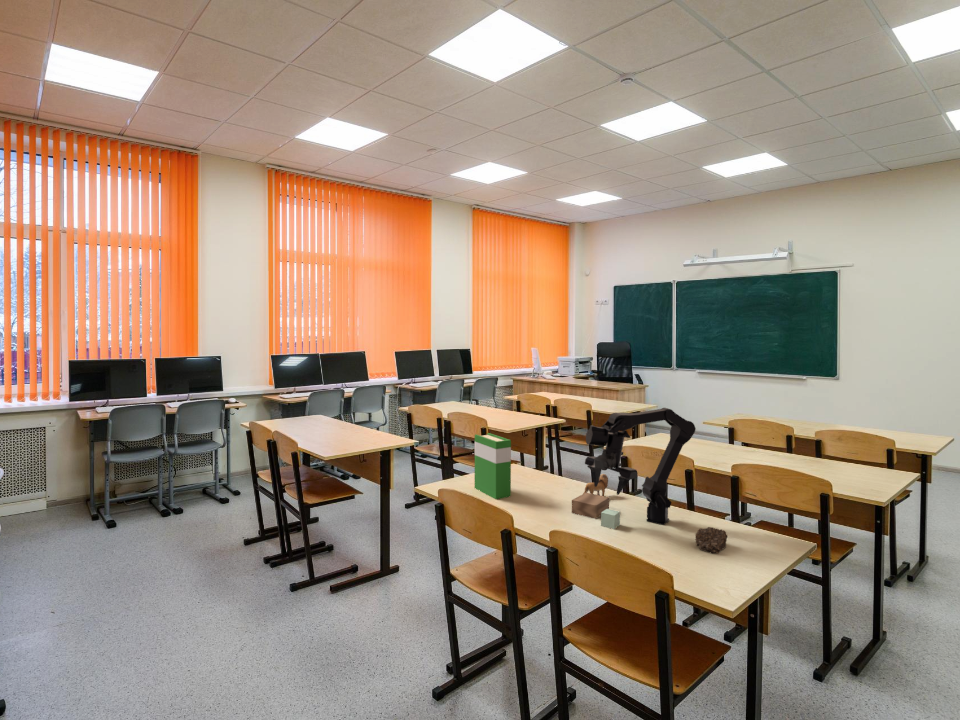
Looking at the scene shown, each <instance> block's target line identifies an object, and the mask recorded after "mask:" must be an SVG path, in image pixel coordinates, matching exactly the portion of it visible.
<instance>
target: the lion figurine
mask: <svg viewBox="0 0 960 720" xmlns="http://www.w3.org/2000/svg"><path fill="white" fill-rule="evenodd" d="M608 485H609V477H608V475H607V474H605V473H601V474H600V478H599V482H598V485H597V487H595V486H594V482H588V483H586V484H585V488H584V492H583V493H582V494H584V493H591V494H594V492H596V495H600V496H605V494H606V493H605V492H606V489H607V488H608ZM600 491H601V494H600Z"/></svg>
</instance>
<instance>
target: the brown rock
mask: <svg viewBox="0 0 960 720" xmlns="http://www.w3.org/2000/svg"><path fill="white" fill-rule="evenodd" d="M694 538H695V539H694V540H695V543H696V547H698V548H699V550H701V551H702V552H703V551H704V552H706V553H710V552H711V553H710V554H719V553H721V551H723V549H725V548H726V547H727V541H728V540H727V539H728V534H727V531H725V530H723V529H719V528H716V527H711V526H708V527H706V528H698V529H697V532H696V533H695V537H694Z"/></svg>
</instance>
